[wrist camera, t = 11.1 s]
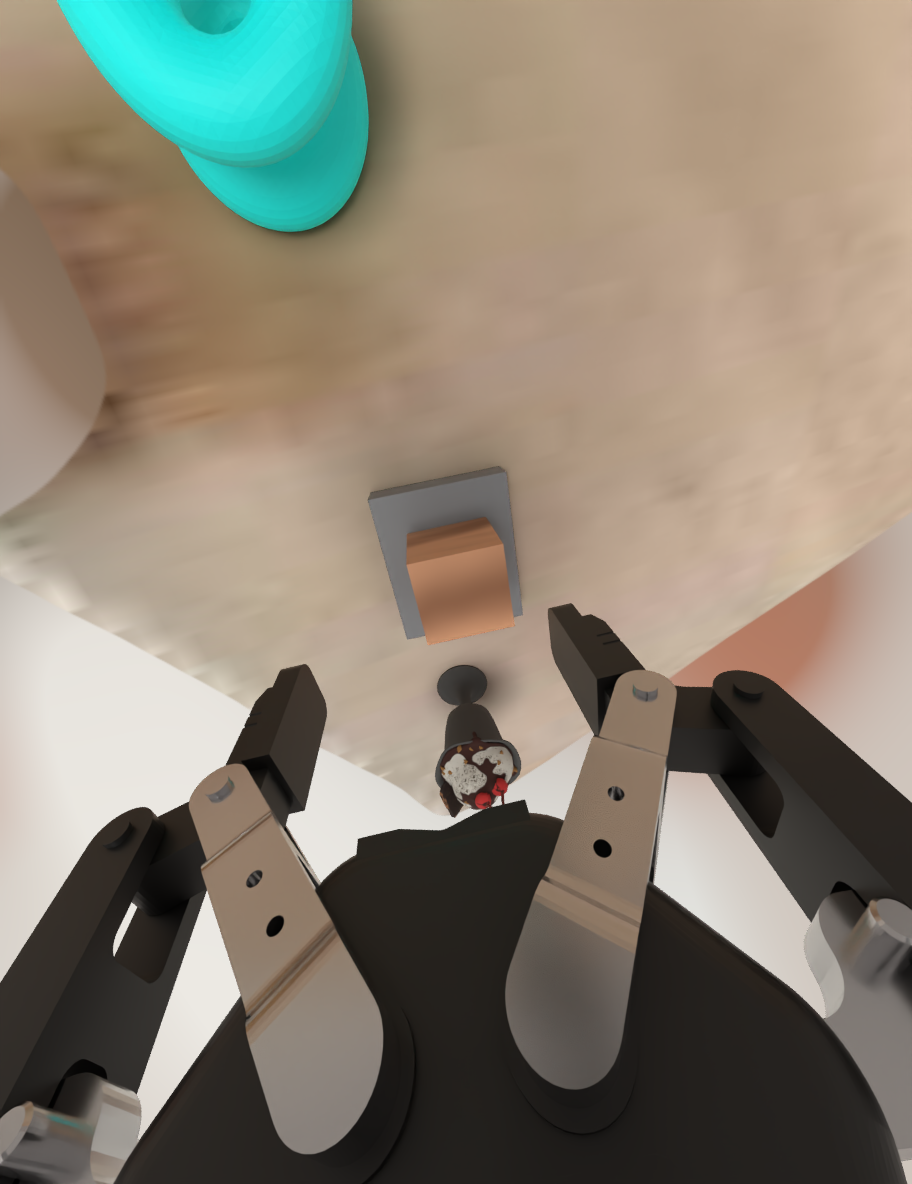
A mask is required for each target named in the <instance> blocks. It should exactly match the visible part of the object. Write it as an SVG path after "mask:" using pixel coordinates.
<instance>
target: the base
mask: <svg viewBox="0 0 912 1184" xmlns="http://www.w3.org/2000/svg"><path fill="white" fill-rule="evenodd" d="M368 503H369V506H370V510H371V513H372V517H373V520H374V524H375V527H376V531H377V534H378V538H379V541H380V545H381V549H382V552H383V556H384V559H385V563H386V566H387V570H388V573H389V577H390V580H391V584H392V588H393V591H394V595H395V598H396V602H397V605H398V609H399V612H400V616H401V619H402V623H403V626H404V630H405V634H406V637H407V639H412V638H417V637H421V636H425V632H424V628H423V625H422V621H421V617H420V614H419V610H418V606H417V602H416V599H415V595H414V591H413V588H412V584H411V580H410V576H409V573H408V569H407V565H406V556H407V534H409V533H413V532H418V531H423V530H427V529H432V528H436V527H441V526H446V525H450V524H455V523H459V522H464V521H469V520H473V519H478V518H482V517H486V518H487V519H488V521H489V522H490V524H491V526H492V527H493V529H494V530H495V532H496V533H497V535H498V537H499V538H500V540H501V541H502V543H503V546H504V553H505V560H506V567H507V574H508V582H509V589H510V596H511V603H512V610H513V617H516V616H521V615H523V612H522V603H521V594H520V586H519V577H518V569H517V560H516V551H515V543H514V534H513V525H512V517H511V508H510V499H509V491H508V482H507V473H506V471H505V470H503V469H502V468H501V467H499V466H498V467H493V468H488V469H483V470H478V471H474V472H469V473H464V474H459V475H454V476H449V477H444V478H439V479H435V480H430V481H425V482H420V483H415V484H410V485H405V486H400V487H395V488H391V489H386V490H381V491H376V492H371V493H370V496H369V498H368Z"/></svg>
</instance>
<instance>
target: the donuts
mask: <svg viewBox="0 0 912 1184" xmlns="http://www.w3.org/2000/svg"><path fill="white" fill-rule="evenodd" d="M57 2H58V4H59V6H60V8H61V10H62V12H63V13H64V15H65V17H66V19H67V21H68V22H69V24H70V26H71V28H72V29H73V31H74V33H75V35H76V36H77V38H78V40H79V41H80V43H81V45H82V46H83V48H84V49H85V51H86V52H87V54H88V55H89V57H90V58H91V60H92V61H93V63H94V64H95V65H96V67H97V68H98V70H99V71H100V72H101V74H102V75H103V76H104V77H105V79H106V80H107V81H108V82H109V84H110V85H111V86H112V87H113V88H114V89H115V91H116V92H117V93H118V94H119V95H120V96H121V97H122V98H123V100H124V101H125V102H126V103H127V104H128V105H129V106H130V107H131V108H132V109H133V110H134V111H135V112H136V113H137V114H138V115H139V116H140V117H141V118H142V119H143V120H144V121H146V122H147V123H148V124H149V125H150V126H151V127H153V128H154V129H155V130H156V131H158V132H159V133H160V134H162V135H163V136H164V137H166V138H167V139H169V140H170V141H172V142H173V143H175V144H176V145H178V147H179V149H180V150H181V152H182V154H183V156H184V157H185V159H186V160H187V162H188V163H189V165H190V166H191V168H192V169H193V171H194V172H195V173H196V175H197V176H198V177H199V179H200V180H201V181H202V182H203V183H204V185H205V186H206V187H207V188H208V189H209V190H210V191H211V192H212V193H213V194H214V195H215V196H216V197H217V198H218V199H219V200H220V201H221V202H222V203H223V204H225V205H226V206H227V207H228V208H230V209H231V210H232V211H234V212H235V213H236V214H238V215H240V216H241V217H243V218H244V219H246V220H248V221H250V222H252V223H254V224H256V225H259V226H262V227H265V228H268V229H272V230H277V231H284V232H296V231H304V230H308V229H311V228H314V227H317V226H319V225H321V224H323V223H324V222H326V221H328V220H329V219H330V218H332V217H333V216H334V215H335V214H336V213H337V212H338V211H339V210H340V209H341V208H342V207H343V206H344V204H345V203H346V202H347V200H348V199H349V197H350V196H351V194H352V192H353V191H354V188H355V186H356V184H357V182H358V179H359V177H360V174H361V171H362V168H363V164H364V161H365V156H366V151H367V143H368V131H369V113H368V100H367V92H366V85H365V80H364V75H363V70H362V66H361V62H360V59H359V55H358V52H357V49H356V46H355V43H354V41H353V38H352V36H351V29H352V6H353V5H352V0H57Z"/></svg>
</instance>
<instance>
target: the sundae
mask: <svg viewBox="0 0 912 1184" xmlns="http://www.w3.org/2000/svg"><path fill="white" fill-rule="evenodd" d="M486 687H487V680H486V677H485V675H484V674H483V673H482V672H481V671H480V670H479V669H477V668H475V667H471V666H457V667H454V668H451V669H449V670H448V671H446V672H445V673H444V674H443V675H442V676H441V678H440V679H439V681H438V685H437V689H438V693H439V695H440V697H441V698H442V699H443V700H444V701H445V702H447V703H449V704H452V705H460V706H458V707H456V708H455V709H454V710H453V711H451V713H450V714H449V716H448V719H447V725H446V731H445V750H444V752H443V753H442V754H441V756H440V759H439V761H438V764H437V767H436V772H435V778H436V782H437V784H438V786H439V787H440V788H441V790H440V796H441V798H442V800H443V802H444V804H445V806H446V808H447V809H448V810H449V812H450V815H451V816H452V817H454V818H455V817H456V816H457V814H458V813H459V811H460V810H461V808H462V807H463V805H465V806H467V807H469V808H471V809H475V810H483V809H486V808H488V807H489V808H491V807H492V806H491V805H492V804H493V803H494V802H495V801H496V800H497V798H498V796H501V797H502V798H501V801H502V805H504V793H506V792H507V788H508V785H509V784H511V783H512V782H513V781H514V780H515V779H516V778H517V777H518V776H519V774H520V770H521V760H520V757H519V754H518V752H517V750H516V749H515V747H514V746H513V745H512V744H511V743H510V742H508V741H506V740H503V739H502V737H501V735H500V733H499V731H498V728H497V726H496V724H495V722H494V720H493V718H492V716H491V715H490V713H489V711H488V710H487V709H486V708H485V707H483V706H481V705H478V704H473V702H476V701H477V700H478V699H479V698H481V697H482V695H483V694H484V692H485V690H486Z"/></svg>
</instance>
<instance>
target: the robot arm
mask: <svg viewBox="0 0 912 1184" xmlns="http://www.w3.org/2000/svg"><path fill="white" fill-rule="evenodd" d="M548 620H549V631H550V641H551V649H552V653H553V657H554V660H555V663H556V665H557V667H558V669H559V670H560V672H561V674H562V676H563V678H564V680H565V681H566V683H567V685H568V687H569V689H570V691H571V692H572V694H573V696H574V698H575V700H576V702H577V704H578V705H579V707H580V709H581V711H582V713H583V715H584V716H585V718H586V720H587V722H588V724H589V726H590V727H591V729H592V731H593V733H594V736H593V738H592V740H591V743H590V745H589V748H588V751H587V754H586V757H585V760H584V763H583V766H582V769H581V772H580V775H579V778H578V781H577V784H576V787H575V790H574V793H573V796H572V799H571V802H570V805H569V808H568V811H567V814H566V817H565V820H561V819H559V818H556V817H552V816H549V815H543V814H537V813H529V812H528V808H527V805H526V802H525V800H521V801H516V802H512V803H508V804H504V805H500V806H496V807H491V808H487V809H483V810H482V811H480V812H478V813H476V814H474V815H472V816H470V817H468V818H466V819H464V820H462V821H461V822H458V823H457V824H455V825H453V826H451V827H449V828H447V829H445V830H439V831H438V830H410V829H397V830H393V831H389V832H385V833H381V834H376V835H372V836H368V837H363V838H360V839H358V845H357V854H356V855H355V856H353V857H351V858H350V859H348V860H347V861H345V862H344V863H342V864H341V865H340V866H339V867H337V868H336V869H335V870H334V871H332V873H331V874H329V875H328V876H327V877H326V878H325V879H324V880H323V882H322V883H321V882H320V881H319V879H318V878H317V876H316V874H315V873H314V871H313V869H312V868H311V866H310V864H309V863H308V861H307V859H306V857H305V856H304V854H303V852H302V851H301V849H300V847H299V846H298V844H297V842H296V841H295V839H294V838H293V836H292V834H291V832H290V831H289V829H288V828H287V826H286V822H287V818H288V815H289V814H291V813H295V812H300V811H304V810H305V806H306V802H307V798H308V793H309V789H310V785H311V781H312V777H313V772H314V768H315V764H316V759H317V755H318V751H319V747H320V743H321V739H322V734H323V730H324V726H325V722H326V717H327V708H326V703H325V699H324V697H323V695H322V693H321V691H320V689H319V687H318V685H317V682H316V680H315V678H314V676H313V674H312V672H311V670H310V668H309V667H308V666H307V665H306V664H303V665H299V666H294V667H290V668H286V669H282V670H281V671H280V672H279V674H278V676H277V679H276V681H275V683H274V686H273V687H272V688H268V689H267V690H266V691H265V692H264V693H263V694H262V695H261V696H260V697H259V698H258V700H257V701H256V702H255V704H254V706H253V708H252V710H251V713H250V717H248V719H247V721H246V723H245V728H243V729H242V732H241V734H240V736H239V738H238V740H237V742H236V745H235V746H234V749H233V751H232V753H231V755H230V757H229V759H228V761H227V763H226V766H224V767H221V768H219V769H217V770H216V771H214V772H213V773H211V774H210V775H209V776H207V777H206V778H205V779H204V780H203V781H202V782H201V783H200V784H199V785H198V786H197V787H196V789H195V790H194V792H193V793H192V795H191V797H190V801H189V802H187V803H185V804H183V805H181V806H179V807H177V808H175V809H173V810H171V811H169V812H167V813H165V814H163V815H161V816H159V817H157V816H156V815H155V814H154V813H153V812H152V811H151V810H150V809H149V808H146V807H140V808H135V809H132V810H129V811H127V812H125V813H123V814H121V815H120V816H118V817H116V818H115V819H113V820H112V821H111V822H109V823H108V824H107V825H106V826H105V827H104V828H102V830H100V831H99V832H98V833H97V835H96V836H95V837H94V838H93V839H92V841H91V842H90V843H89V845H88V846H87V848H86V850H85V851H84V853H83V854H82V856H81V857H80V859H79V861H78V862H77V864H76V865H75V867H74V868H73V870H72V871H71V873H70V875H69V876H68V878H67V879H66V881H65V882H64V884H63V886H62V887H61V889H60V890H59V892H58V893H57V895H56V897H55V898H54V900H53V901H52V903H51V904H50V906H49V907H48V909H47V911H46V912H45V914H44V915H43V917H42V918H41V920H40V922H39V923H38V925H37V926H36V928H35V929H34V931H33V933H32V934H31V936H30V937H29V939H28V940H27V942H26V944H25V945H24V947H23V948H22V950H21V951H20V953H19V955H18V956H17V958H16V959H15V961H14V962H13V964H12V965H11V967H10V969H9V970H8V972H7V973H6V975H5V976H4V978H3V980H2V981H1V983H0V1184H907V1181H906V1178H905V1174H904V1170H903V1167H902V1163H901V1161H905V1160H912V803H911V802H910V801H909V800H908V799H907V798H906V797H904V796H903V795H902V794H901V793H900V792H899V791H898V790H897V789H895V788H894V787H893V786H892V785H891V784H890V783H888V781H886V780H885V779H884V778H883V777H882V776H881V775H880V774H878V773H877V772H876V771H875V770H874V769H873V768H871V766H869V765H868V764H867V763H866V762H865V761H864V760H863V759H861V758H860V757H859V756H858V755H857V754H856V753H855V752H854V751H852V750H851V749H850V748H849V747H848V746H847V745H846V744H844V743H843V742H842V741H841V740H840V739H839V738H838V737H836V736H835V735H834V734H833V733H832V732H831V731H830V730H828V729H827V728H826V727H825V726H824V725H823V724H822V723H821V722H819V721H818V720H817V719H816V718H815V717H814V716H813V715H812V714H810V713H809V712H808V711H807V710H806V709H805V708H804V707H802V706H801V705H800V704H799V703H798V702H797V701H796V700H794V699H793V698H792V697H791V696H790V695H789V694H788V693H787V692H785V691H784V690H783V689H782V688H781V687H780V686H779V685H777V684H776V683H775V682H774V681H772V680H770V679H769V678H767V677H764V676H762V675H759V674H756V673H753V672H747V671H740V670H735V671H727V672H723V673H721V674H719V675H718V676H716V678H715V679H714V681H713V686H712V687H681V686H675V685H674V684H673V683H672V682H671V681H670V680H669V679H668V678H666V677H665V676H663V675H661V674H659V673H656V672H652V671H647V670H645V668H644V667H643V666H642V665H641V664H640V662H639V661H638V660H637V659H636V658H635V657H634V655H633V654H632V653H631V652H630V651H629V649H628V648H627V647H626V646H625V645H624V644H623V642H622V641H620V639H619V638H618V636H617V635H616V634H615V633H613V631H612V629H611V628H610V627H609V626H608V625H607V624H606V622H605V621H603V620H601V619H599V618H597V617H595V616H593V615H592V614H590V615H586V616H581V615H580V613H579V612H578V611H577V609H576V608H575V607H574V605H573V604H571V603H570V604H565V605H561V606H557V607H552V608H549V609H548ZM669 771H678V772H692V773H706V774H708V776H709V777H710V778H711V780H712V781H713V783H714V784H715V786H716V787H717V788H718V790H719V791H720V793H721V794H722V796H723V797H724V798H725V800H726V801H727V803H728V804H729V806H730V807H731V808H732V810H733V811H734V813H735V814H736V816H737V817H738V819H739V820H740V821H741V823H742V824H743V826H744V827H745V829H746V830H747V831H748V832H749V834H750V836H751V837H752V839H753V840H754V841H755V843H756V844H757V846H758V847H759V849H760V850H761V851H762V853H763V854H764V856H765V857H766V858H767V860H768V861H769V863H770V864H771V866H772V867H773V868H774V870H775V871H776V873H777V874H778V876H779V877H780V879H781V880H782V881H783V883H784V884H785V886H786V887H787V889H788V890H789V891H790V893H791V894H792V896H793V897H794V899H795V900H796V901H797V903H798V904H799V906H800V907H801V908H802V910H803V911H804V913H805V914H806V916H807V917H808V918H809V920H810V921H811V924H810V927H809V929H808V930H807V933H806V935H805V939H804V950H805V955H806V959H807V961H808V964H809V967H810V968H811V970H812V972H813V974H814V976H815V978H816V980H817V982H818V984H819V986H820V989H821V991H822V994H823V997H824V1002H825V1007H826V1018H824V1019H822V1018H821V1016H820V1015H819V1014H818V1013H817V1012H816V1011H815V1010H814V1009H813V1008H812V1007H811V1006H810V1005H809V1004H808V1003H807V1002H806V1001H805V1000H804V999H803V998H802V997H801V996H800V995H799V994H797V993H796V992H795V991H794V990H793V989H792V988H790V987H789V986H788V985H787V984H785V983H784V982H782V981H781V980H780V979H779V978H777V977H776V976H774V975H773V974H772V973H771V972H769V971H768V970H767V969H765V968H764V967H763V966H761V965H760V964H759V963H757V962H756V961H755V960H753V959H752V958H751V957H749V956H748V955H747V954H745V953H744V952H743V951H741V950H740V949H739V948H737V947H736V946H735V945H733V944H732V943H731V942H729V941H728V940H727V939H725V938H724V937H723V936H722V935H720V934H719V933H717V932H716V931H715V930H714V929H712V928H711V927H709V926H708V925H707V924H706V923H704V922H703V921H702V920H700V919H699V918H698V917H696V916H695V915H694V914H692V913H691V912H690V911H688V910H687V909H686V908H684V907H683V906H681V905H680V904H679V903H678V902H676V901H675V900H674V899H672V898H671V897H670V896H668V895H667V894H666V893H664V892H663V891H662V890H660V889H659V888H658V887H656V886H655V885H654V878H655V872H656V864H657V856H658V848H659V840H660V832H661V825H662V818H663V810H664V804H665V797H666V789H667V782H668V775H669ZM206 891H208V894H209V897H210V900H211V903H212V907H213V910H214V913H215V916H216V919H217V922H218V925H219V928H220V932H221V935H222V938H223V940H224V944H225V947H226V950H227V953H228V957H229V960H230V963H231V966H232V969H233V972H234V975H235V978H236V981H237V985H238V987H239V991H240V994H241V996H240V998H239V999H238V1000H237V1002H236V1003H235V1005H234V1006H233V1008H232V1009H231V1011H230V1012H229V1014H228V1015H227V1016H226V1017H225V1019H224V1020H223V1022H222V1023H221V1025H220V1026H219V1027H218V1029H217V1030H216V1032H215V1033H214V1035H213V1036H212V1037H211V1039H210V1040H209V1042H208V1043H207V1045H206V1046H205V1047H204V1049H203V1050H202V1052H201V1053H200V1054H199V1056H198V1058H197V1059H196V1060H195V1062H194V1063H193V1065H192V1066H191V1067H190V1069H189V1070H188V1072H187V1073H186V1074H185V1076H184V1077H183V1079H182V1080H181V1082H180V1083H179V1085H178V1086H177V1087H176V1089H175V1090H174V1092H173V1093H172V1095H171V1096H170V1097H169V1099H168V1100H167V1102H166V1103H165V1105H164V1106H163V1108H162V1109H161V1110H160V1112H159V1113H158V1114H157V1116H156V1117H155V1119H154V1120H153V1121H152V1123H151V1124H150V1126H149V1127H148V1129H147V1130H146V1131H145V1133H144V1134H143V1136H142V1137H141V1139H140V1140H139V1139H137V1138H138V1134H139V1129H140V1123H141V1105H140V1101H139V1098H138V1096H137V1092H138V1089H139V1086H140V1083H141V1080H142V1077H143V1074H144V1072H145V1069H146V1066H147V1063H148V1060H149V1057H150V1054H151V1051H152V1048H153V1045H154V1042H155V1039H156V1037H157V1034H158V1031H159V1028H160V1025H161V1022H162V1019H163V1016H164V1013H165V1010H166V1007H167V1005H168V1002H169V999H170V996H171V993H172V990H173V987H174V984H175V981H176V978H177V975H178V972H179V970H180V967H181V964H182V961H183V958H184V955H185V952H186V949H187V946H188V943H189V941H190V937H191V935H192V932H193V929H194V926H195V923H196V920H197V917H198V914H199V911H200V909H201V906H202V903H203V900H204V897H205V894H206ZM131 902H132V903H133V904H135V905H136V906H137V909H136V911H135V913H134V916H133V918H132V920H131V922H130V924H129V927H128V928H127V931H126V933H125V935H124V937H123V939H122V941H121V943H120V946H119V948H118V950H117V952H116V954H115V956H113V943H114V939H115V936H116V933H117V931H118V929H119V927H120V925H121V923H122V921H123V918H124V917H125V915H126V913H127V910H128V908H129V906H130V904H131Z"/></svg>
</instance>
